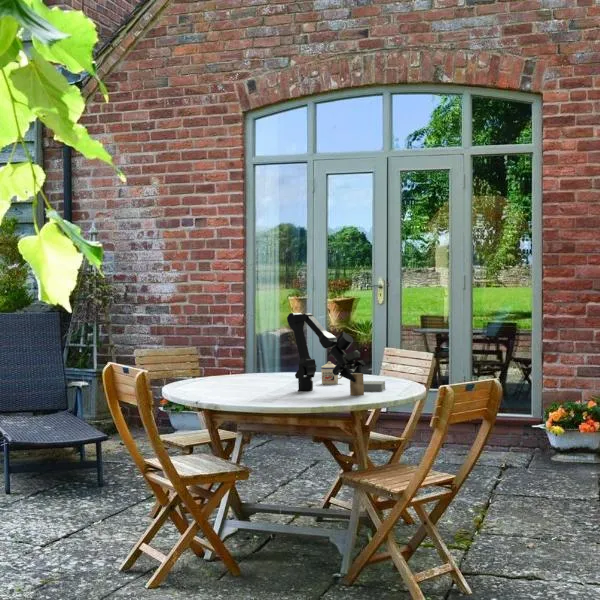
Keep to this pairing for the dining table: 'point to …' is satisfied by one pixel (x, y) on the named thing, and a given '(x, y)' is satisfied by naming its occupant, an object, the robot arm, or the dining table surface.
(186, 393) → the dining table surface
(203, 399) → the dining table surface
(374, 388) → the gray box
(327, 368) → the teacup with lid
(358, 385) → the bronze block
